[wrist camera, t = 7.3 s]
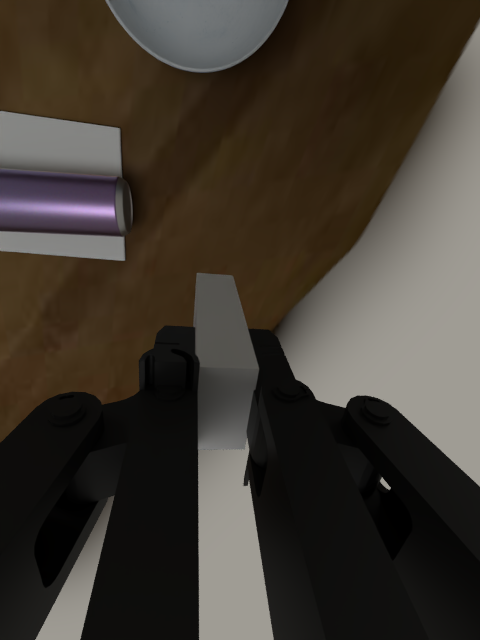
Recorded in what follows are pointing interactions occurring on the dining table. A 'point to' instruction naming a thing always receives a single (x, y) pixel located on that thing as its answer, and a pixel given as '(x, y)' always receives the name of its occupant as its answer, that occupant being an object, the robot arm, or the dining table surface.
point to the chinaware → (199, 29)
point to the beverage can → (64, 203)
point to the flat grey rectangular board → (60, 156)
